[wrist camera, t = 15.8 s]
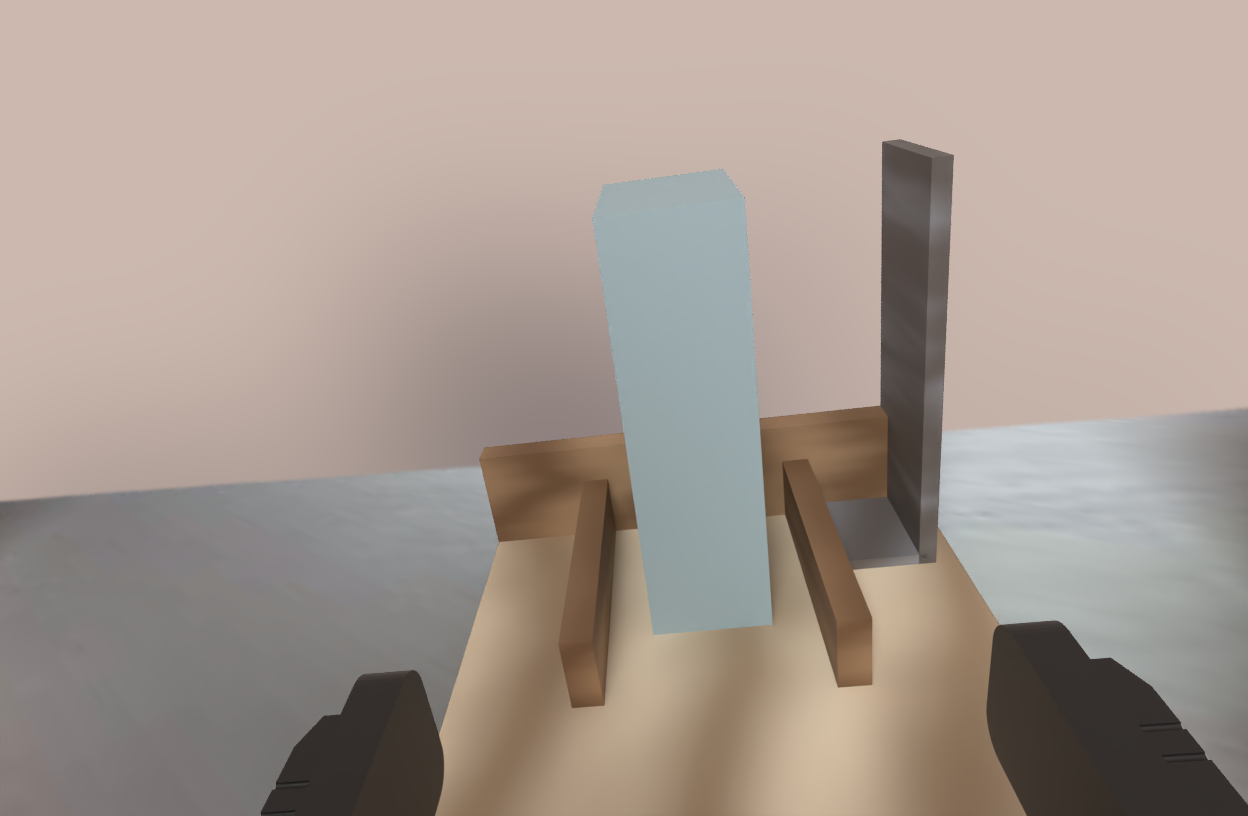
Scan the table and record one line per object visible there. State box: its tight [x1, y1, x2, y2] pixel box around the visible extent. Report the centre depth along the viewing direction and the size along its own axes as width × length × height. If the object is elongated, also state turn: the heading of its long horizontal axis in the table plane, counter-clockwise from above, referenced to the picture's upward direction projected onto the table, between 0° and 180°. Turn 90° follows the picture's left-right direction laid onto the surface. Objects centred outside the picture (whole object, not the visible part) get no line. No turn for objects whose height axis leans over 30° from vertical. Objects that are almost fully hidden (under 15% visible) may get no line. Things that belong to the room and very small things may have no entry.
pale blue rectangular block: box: [592, 169, 773, 635], centre depth 25 cm, size 4×6×14 cm, turn 178°
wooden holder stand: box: [435, 139, 1027, 816], centre depth 22 cm, size 18×16×15 cm
